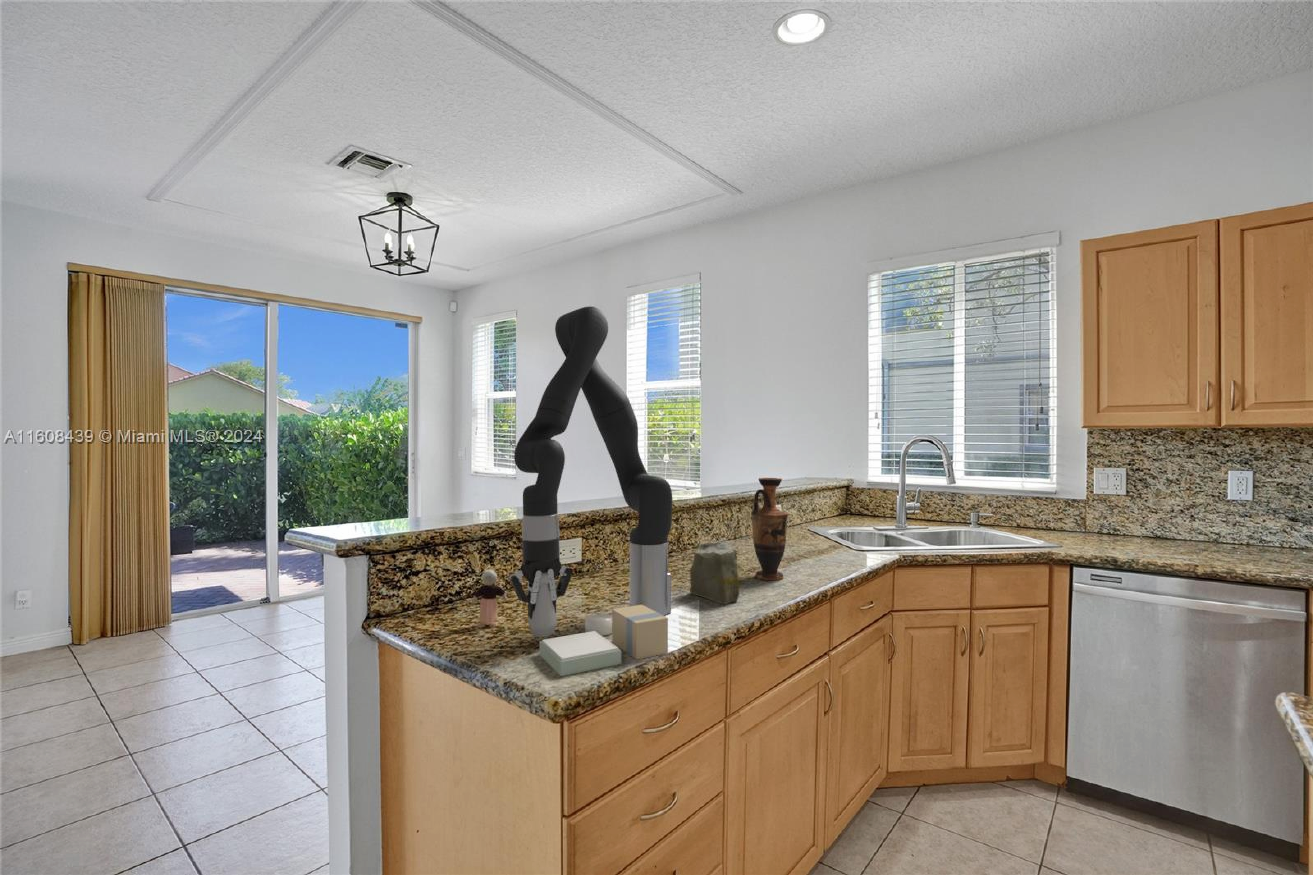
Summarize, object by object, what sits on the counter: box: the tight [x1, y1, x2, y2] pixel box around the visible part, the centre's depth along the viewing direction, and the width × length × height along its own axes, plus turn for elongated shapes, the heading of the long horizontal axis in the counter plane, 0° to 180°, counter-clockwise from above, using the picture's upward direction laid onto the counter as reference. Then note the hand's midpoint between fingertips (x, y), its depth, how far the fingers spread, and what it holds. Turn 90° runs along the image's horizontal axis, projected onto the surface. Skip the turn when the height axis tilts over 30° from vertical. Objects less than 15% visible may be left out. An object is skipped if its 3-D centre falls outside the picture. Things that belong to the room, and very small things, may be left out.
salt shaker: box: [528, 572, 558, 638], centre depth 126 cm, size 6×6×13 cm
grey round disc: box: [584, 613, 612, 637], centre depth 134 cm, size 6×6×3 cm
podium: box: [539, 631, 622, 677], centre depth 118 cm, size 12×12×3 cm
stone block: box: [689, 538, 740, 605], centre depth 163 cm, size 10×15×15 cm
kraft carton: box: [611, 605, 669, 661], centre depth 124 cm, size 7×11×7 cm, turn 29°
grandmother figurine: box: [471, 569, 508, 629], centre depth 138 cm, size 8×4×13 cm, turn 112°
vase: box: [750, 477, 789, 581], centre depth 184 cm, size 11×11×30 cm
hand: (542, 618), depth 126 cm, fingers closed on salt shaker, 3 cm apart
